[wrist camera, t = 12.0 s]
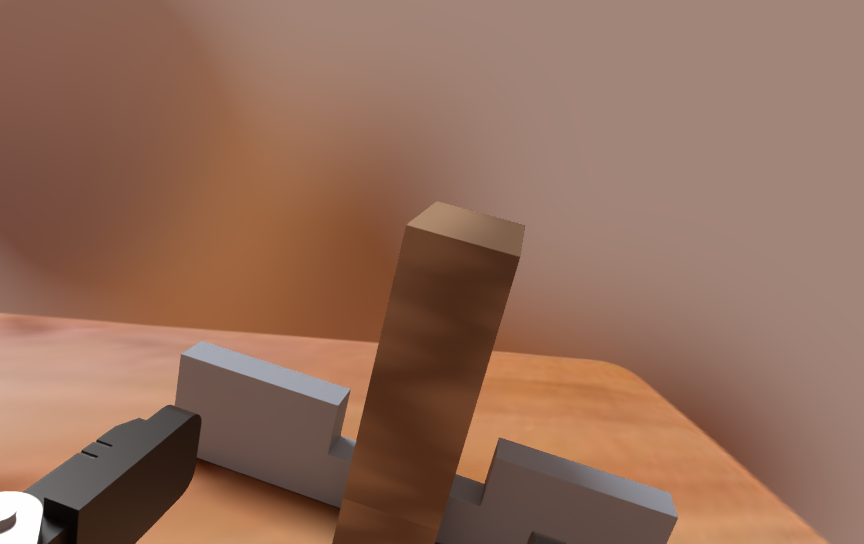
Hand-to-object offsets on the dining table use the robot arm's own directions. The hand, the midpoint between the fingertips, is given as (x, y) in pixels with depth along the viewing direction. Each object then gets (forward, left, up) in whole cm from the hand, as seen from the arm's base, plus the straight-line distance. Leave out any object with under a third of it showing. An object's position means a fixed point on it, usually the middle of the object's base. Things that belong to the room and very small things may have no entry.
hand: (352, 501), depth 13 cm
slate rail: (0, +11, -9) cm, 15 cm away
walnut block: (0, +11, -9) cm, 15 cm away
